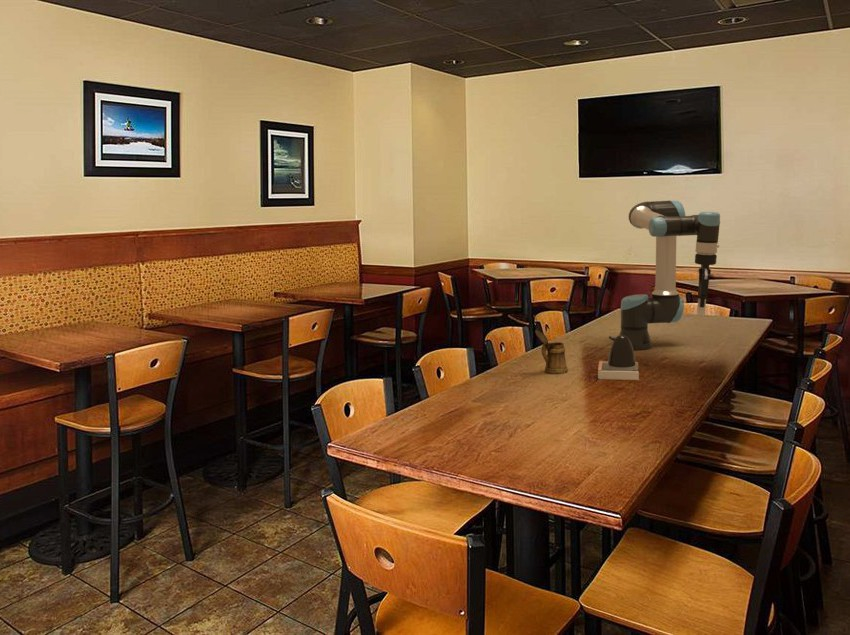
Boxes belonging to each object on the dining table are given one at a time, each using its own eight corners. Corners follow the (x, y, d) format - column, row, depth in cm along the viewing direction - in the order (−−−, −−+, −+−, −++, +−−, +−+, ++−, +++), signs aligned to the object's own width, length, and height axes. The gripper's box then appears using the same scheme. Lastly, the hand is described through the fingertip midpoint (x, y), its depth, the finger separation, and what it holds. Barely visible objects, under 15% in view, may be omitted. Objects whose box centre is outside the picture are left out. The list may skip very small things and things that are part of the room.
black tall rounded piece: (614, 369, 285) (614, 331, 282) (639, 372, 278) (640, 333, 276) (603, 374, 277) (602, 335, 274) (628, 377, 270) (628, 338, 268)
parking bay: (599, 369, 286) (599, 360, 285) (638, 369, 282) (638, 361, 281) (597, 378, 270) (597, 370, 270) (638, 380, 266) (638, 371, 266)
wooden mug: (530, 372, 285) (529, 327, 283) (559, 367, 290) (559, 324, 288) (542, 376, 277) (541, 330, 275) (572, 372, 282) (571, 327, 280)
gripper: (719, 256, 262) (713, 319, 267) (714, 251, 275) (709, 312, 280) (697, 255, 264) (691, 318, 269) (693, 251, 276) (688, 311, 281)
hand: (700, 315), depth 274 cm, fingers closed
